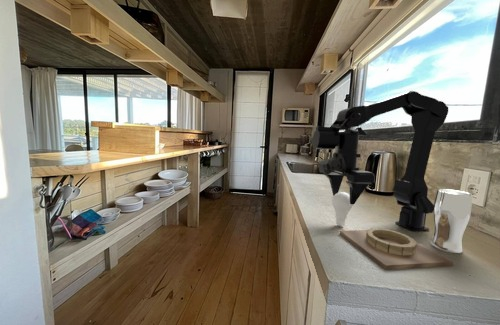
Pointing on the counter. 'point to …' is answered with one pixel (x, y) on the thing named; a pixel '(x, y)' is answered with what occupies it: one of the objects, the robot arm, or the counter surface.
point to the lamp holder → (394, 249)
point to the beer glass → (450, 219)
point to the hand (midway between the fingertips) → (342, 199)
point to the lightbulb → (341, 207)
